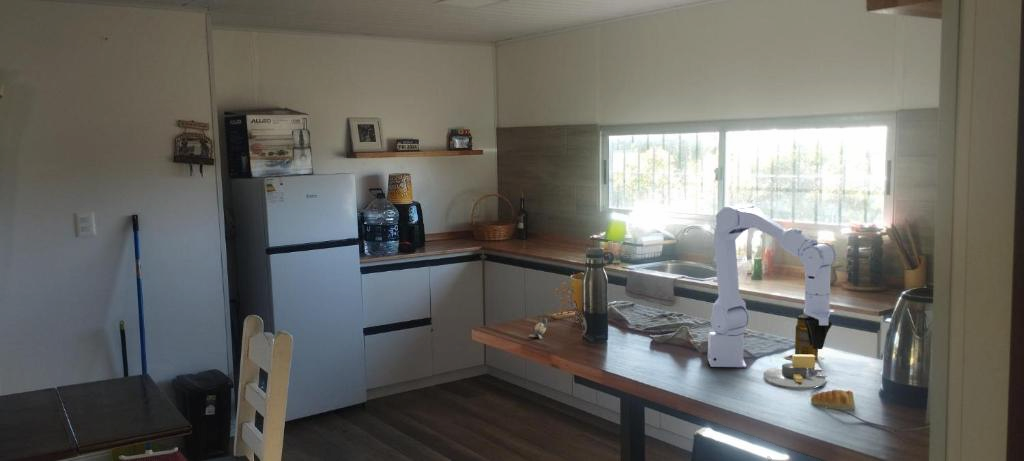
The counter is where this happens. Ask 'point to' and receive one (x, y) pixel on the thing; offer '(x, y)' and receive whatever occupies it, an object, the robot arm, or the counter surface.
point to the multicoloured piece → (798, 366)
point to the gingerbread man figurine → (567, 314)
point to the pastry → (834, 399)
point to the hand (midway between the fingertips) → (816, 346)
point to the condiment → (803, 341)
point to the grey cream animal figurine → (540, 328)
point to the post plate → (779, 379)
